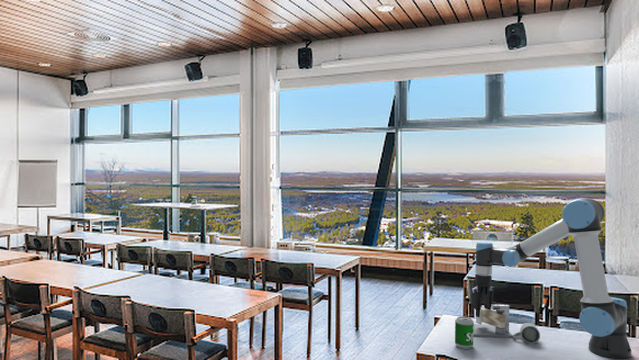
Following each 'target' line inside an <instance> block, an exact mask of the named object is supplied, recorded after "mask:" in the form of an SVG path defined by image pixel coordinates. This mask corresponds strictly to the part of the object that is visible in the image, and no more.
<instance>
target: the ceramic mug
mask: <svg viewBox="0 0 639 360" xmlns="http://www.w3.org/2000/svg"><path fill="white" fill-rule="evenodd" d="M512 335H513V340H515V341H517V340H523V342H525V343H527V344H530V345H532V344H533V345H534V344H536V343H538V342H539V341H540V338H541V333H540V330H539V329H538V328H537V326H536V325H535V324H533V323H531V322H526V323H523V324H522V325H521V326H520V331H518V332H516V333H514V334H512Z"/></svg>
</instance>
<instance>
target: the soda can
mask: <svg viewBox="0 0 639 360" xmlns="http://www.w3.org/2000/svg"><path fill="white" fill-rule="evenodd" d="M454 321H455V322H454V324H455V325H454V344H455V345H456V347H457V348H460V349H462V350H471V349H472V348H473V347H474V324H475V322H474V320H473V319H472V318H471V317H468V316H458V317H457V318H456V319H454Z"/></svg>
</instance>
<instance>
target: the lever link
mask: <svg viewBox="0 0 639 360" xmlns="http://www.w3.org/2000/svg"><path fill="white" fill-rule="evenodd" d="M481 310H482V324H483V323H484V324H485V325H493V326H496V327H499V328H504V327H505V314H503V313H504V312H505V310H503V309H496V310H492V309H491V310H489V309H486V308H484V307H482V306H481Z"/></svg>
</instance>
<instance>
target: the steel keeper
mask: <svg viewBox="0 0 639 360" xmlns="http://www.w3.org/2000/svg"><path fill="white" fill-rule="evenodd" d="M496 309H503V310H505V312H504V313H503V314H505V327H504V328H505V332H510V305H508V304H494V303H493V304H491V310H493V311H496Z"/></svg>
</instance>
